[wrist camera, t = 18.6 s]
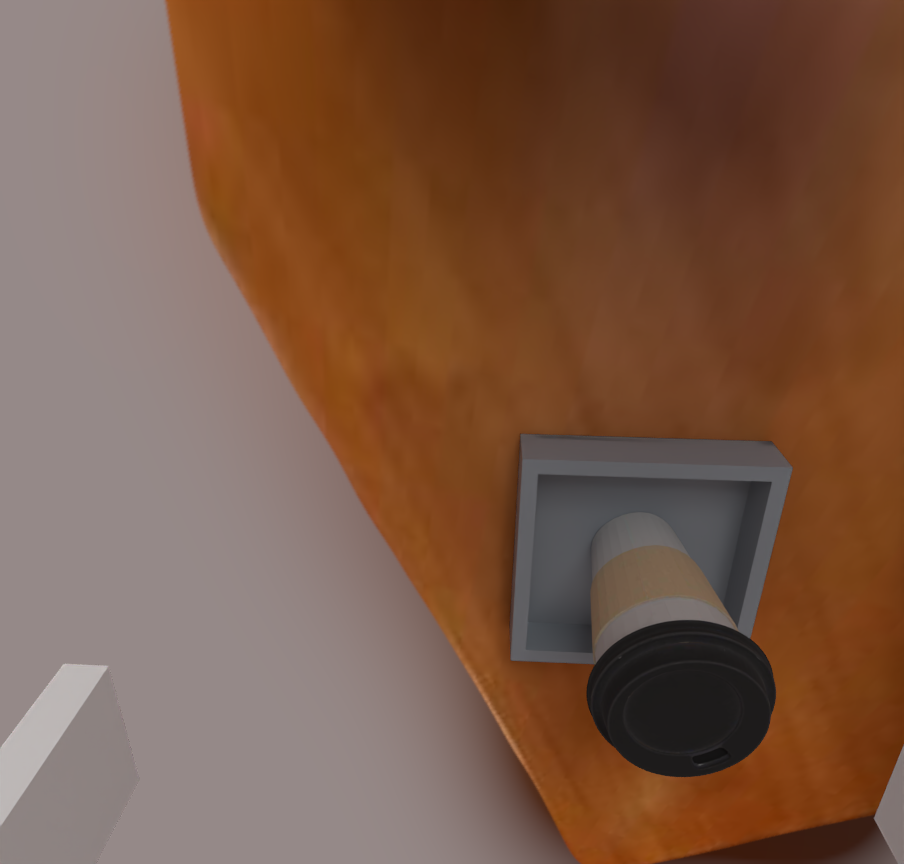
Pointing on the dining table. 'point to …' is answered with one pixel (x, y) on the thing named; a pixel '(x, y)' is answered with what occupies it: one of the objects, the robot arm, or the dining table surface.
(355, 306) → the dining table surface
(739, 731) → the coffee cup
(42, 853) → the robot arm
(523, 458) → the tray
